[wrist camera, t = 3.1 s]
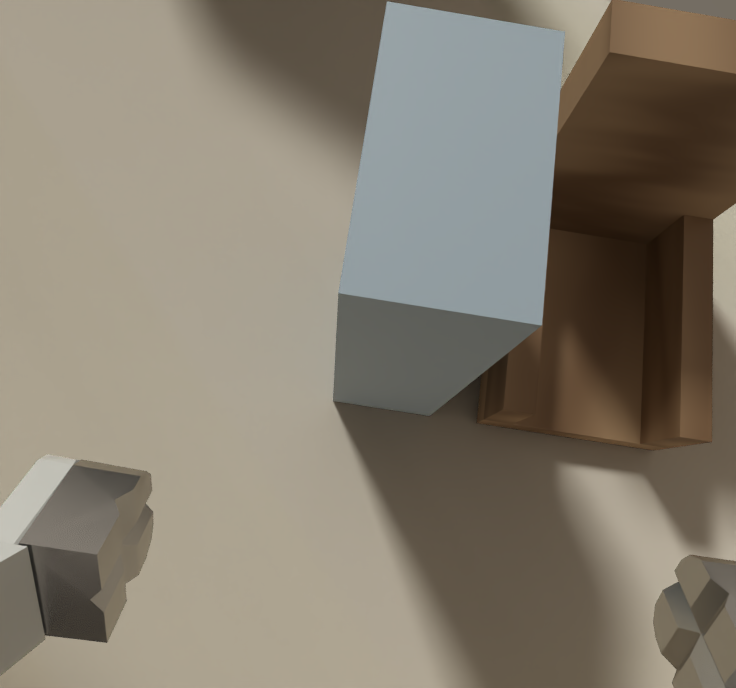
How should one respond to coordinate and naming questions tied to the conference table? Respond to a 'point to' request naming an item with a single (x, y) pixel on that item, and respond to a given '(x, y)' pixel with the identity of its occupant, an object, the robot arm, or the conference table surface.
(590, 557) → the conference table surface
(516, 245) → the blue-grey rectangular block
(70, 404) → the conference table surface
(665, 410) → the brown wooden holder
